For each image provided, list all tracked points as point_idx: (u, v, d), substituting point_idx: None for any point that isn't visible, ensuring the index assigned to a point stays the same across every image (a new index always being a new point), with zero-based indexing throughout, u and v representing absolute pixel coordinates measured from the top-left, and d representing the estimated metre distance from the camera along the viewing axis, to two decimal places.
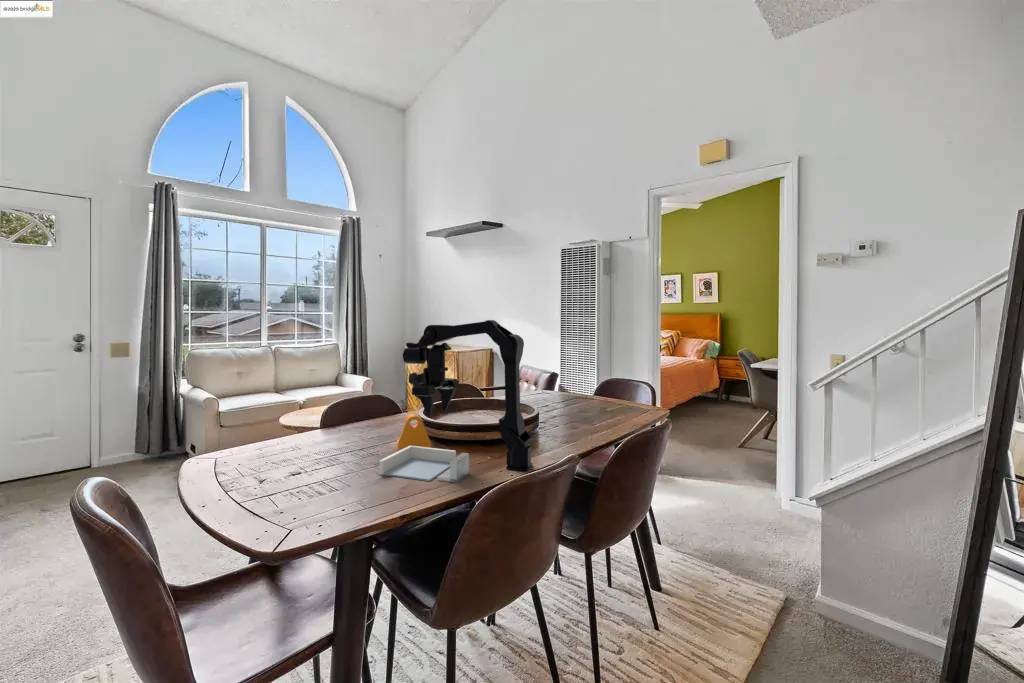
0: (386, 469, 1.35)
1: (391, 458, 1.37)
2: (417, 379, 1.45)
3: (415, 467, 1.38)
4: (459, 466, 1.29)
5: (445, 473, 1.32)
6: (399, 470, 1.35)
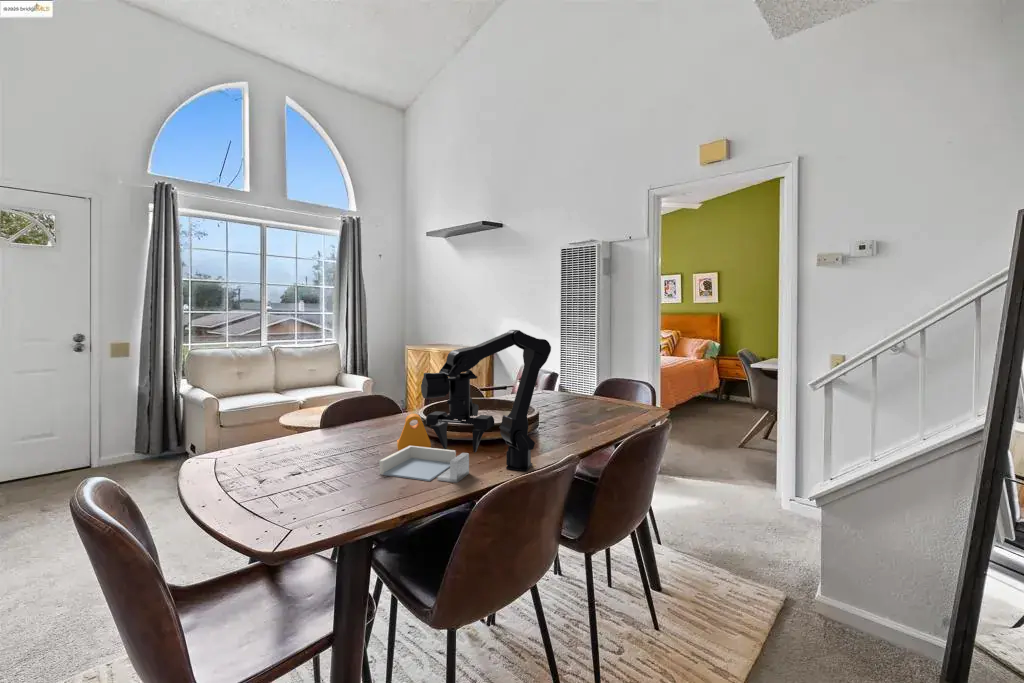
0: (386, 469, 1.35)
1: (391, 458, 1.37)
2: None
3: (415, 467, 1.38)
4: (459, 467, 1.29)
5: (445, 473, 1.32)
6: (399, 470, 1.35)
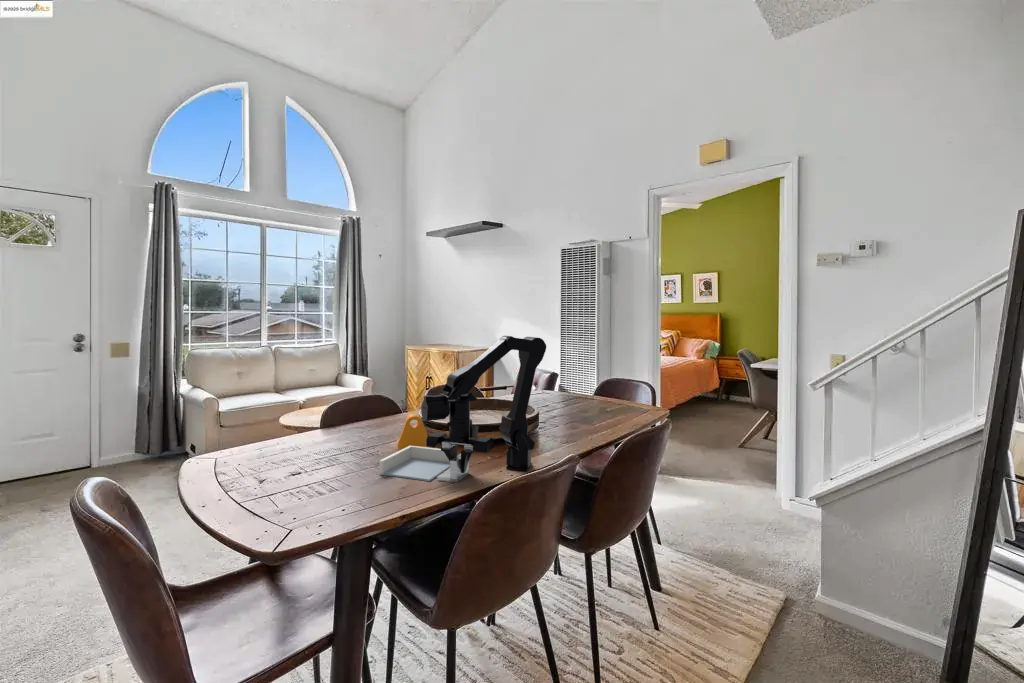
0: (386, 469, 1.35)
1: (391, 458, 1.37)
2: None
3: (415, 467, 1.38)
4: (459, 466, 1.29)
5: (445, 473, 1.32)
6: (399, 470, 1.35)
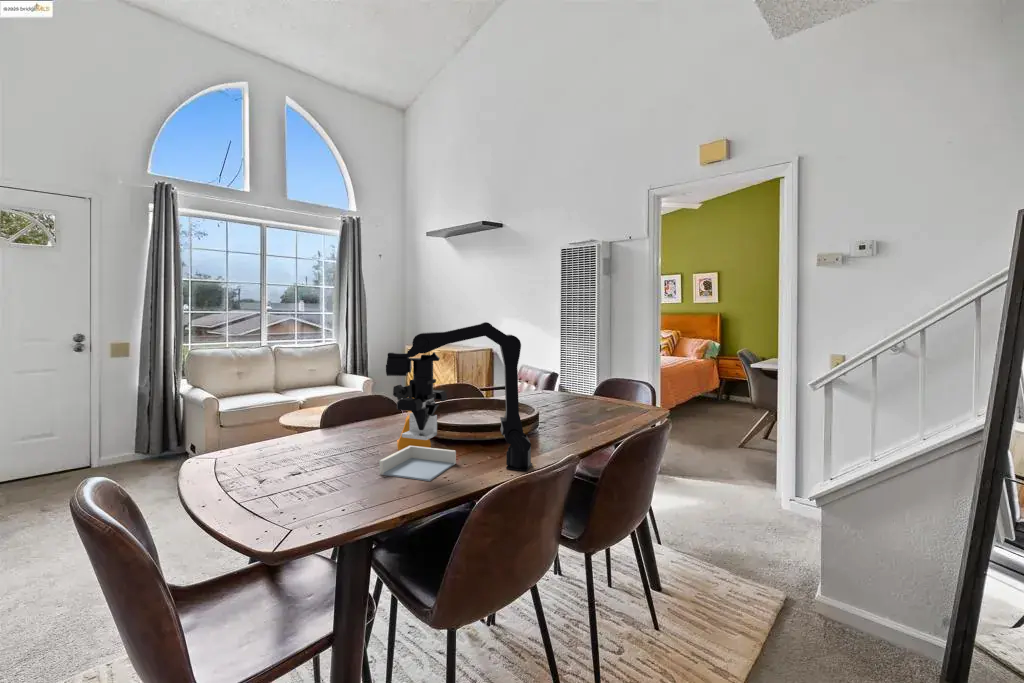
0: (386, 469, 1.35)
1: (391, 458, 1.37)
2: (402, 392, 1.34)
3: (415, 467, 1.38)
4: None
5: (417, 434, 1.32)
6: (399, 470, 1.35)
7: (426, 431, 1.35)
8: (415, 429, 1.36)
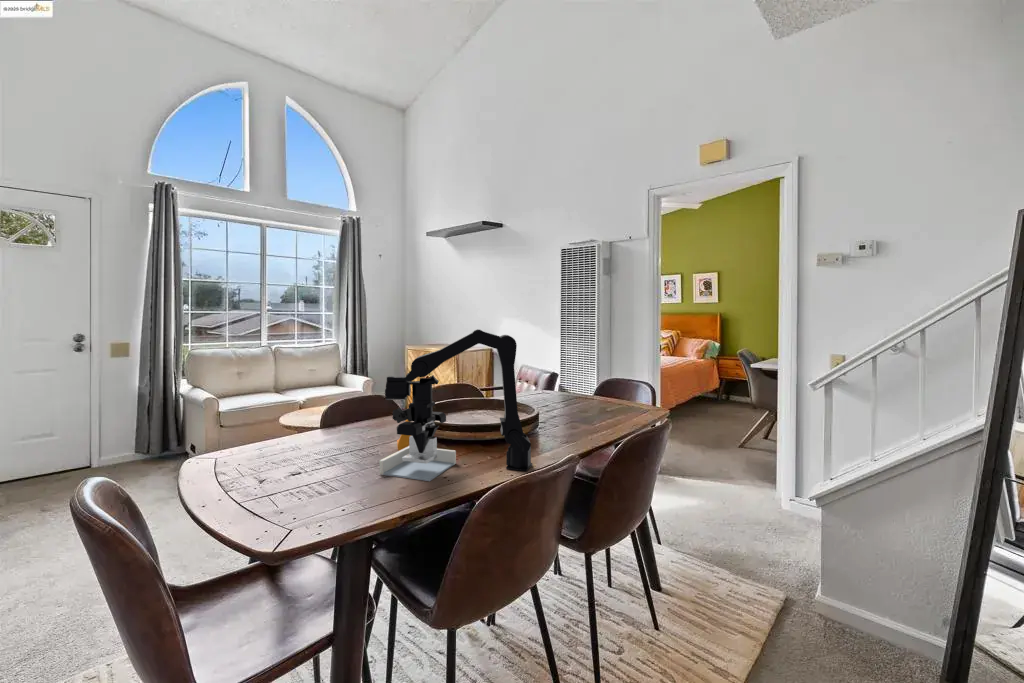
0: (386, 469, 1.35)
1: (391, 458, 1.37)
2: (402, 415, 1.34)
3: (415, 467, 1.38)
4: None
5: (417, 458, 1.33)
6: (399, 470, 1.35)
7: (426, 454, 1.36)
8: (415, 452, 1.37)
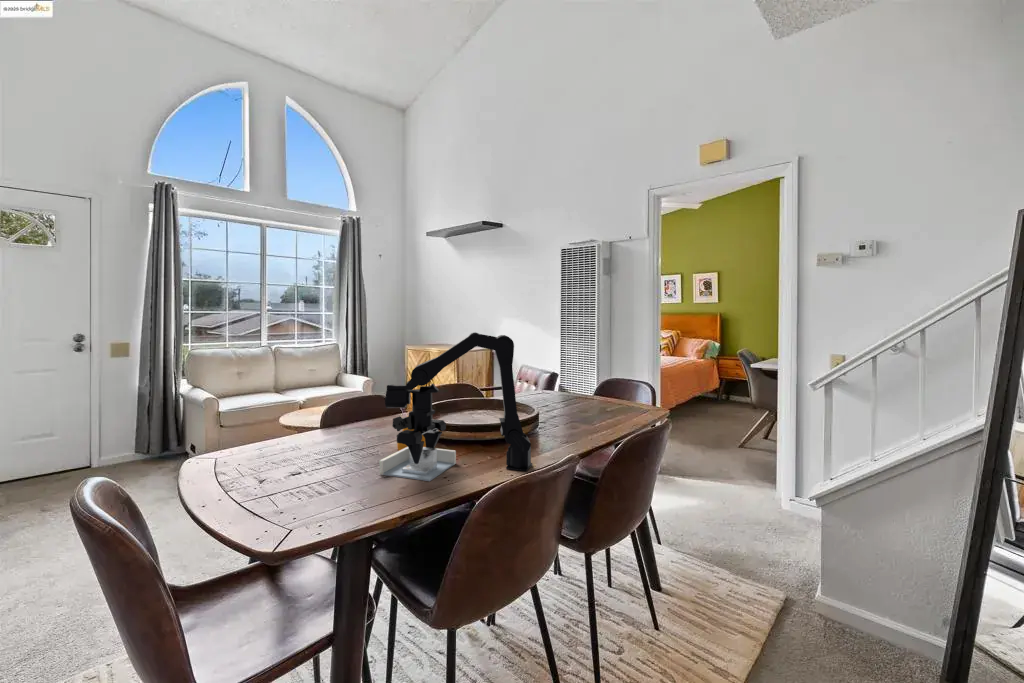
0: (386, 469, 1.35)
1: (391, 458, 1.37)
2: (402, 424, 1.35)
3: None
4: None
5: (417, 469, 1.33)
6: (399, 470, 1.35)
7: (426, 465, 1.36)
8: None
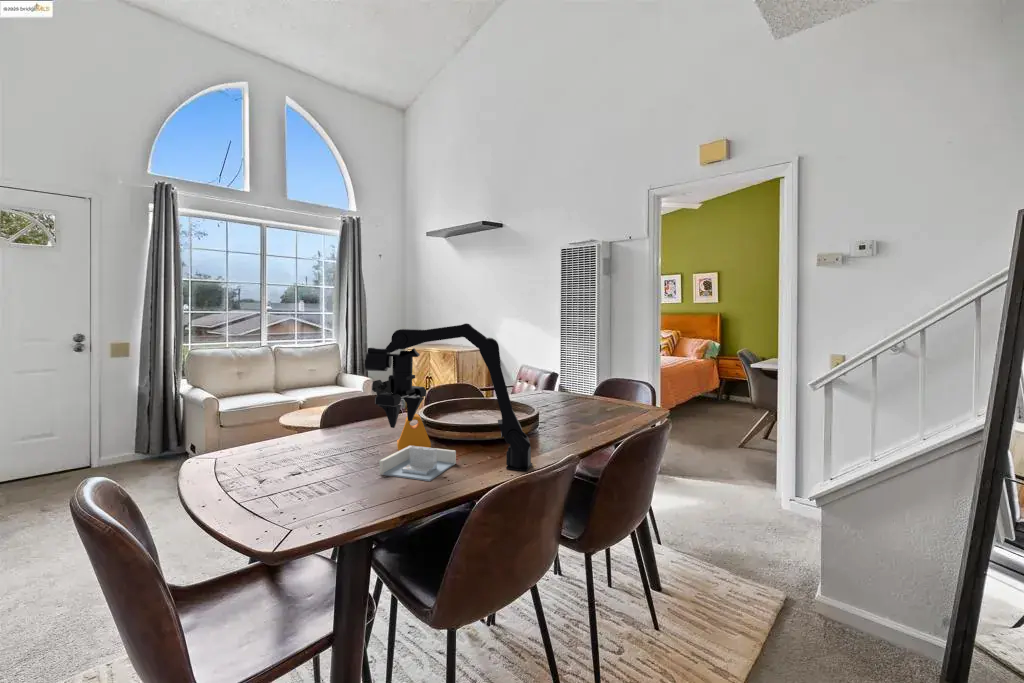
0: (386, 469, 1.35)
1: (391, 458, 1.37)
2: (381, 387, 1.35)
3: None
4: None
5: (417, 469, 1.33)
6: (399, 470, 1.35)
7: (426, 465, 1.36)
8: (415, 463, 1.37)
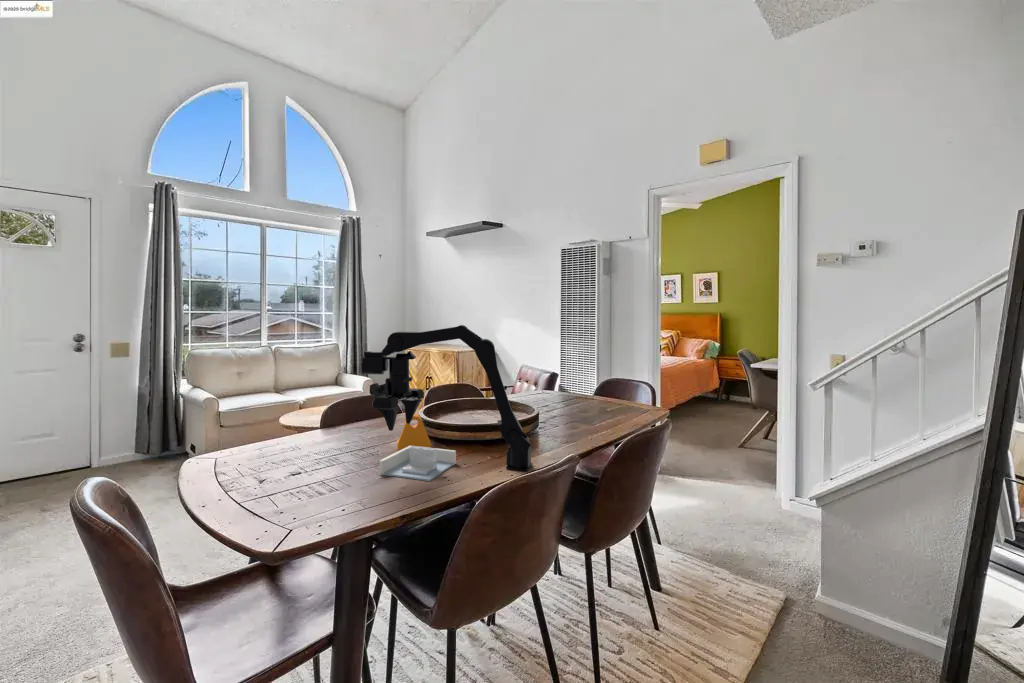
0: (386, 469, 1.35)
1: (391, 458, 1.37)
2: (379, 390, 1.35)
3: None
4: None
5: (417, 469, 1.33)
6: (399, 470, 1.35)
7: (426, 465, 1.36)
8: (415, 463, 1.37)
